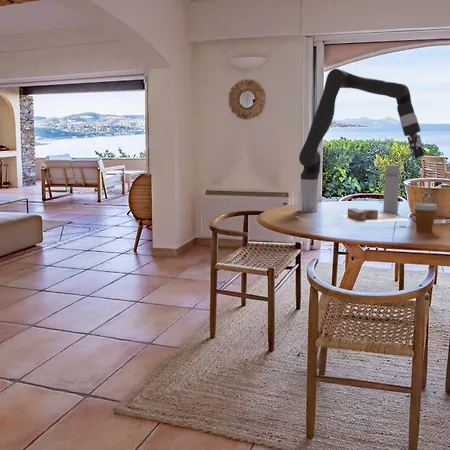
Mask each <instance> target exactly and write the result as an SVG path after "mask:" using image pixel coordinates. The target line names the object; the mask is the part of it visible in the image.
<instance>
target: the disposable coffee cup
mask: <svg viewBox="0 0 450 450" xmlns="http://www.w3.org/2000/svg"><path fill="white" fill-rule="evenodd" d="M413 207H414V214H415V227H416V228H415V229H416V230H415V231H416V232H419V233H425V234H426V233H432V231H433V227H434V221H435V216H436V212H437V209H438V207H437V204H436V203H433V202H415V204H414V206H413Z"/></svg>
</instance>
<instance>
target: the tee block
mask: <svg viewBox="0 0 450 450" xmlns="http://www.w3.org/2000/svg"><path fill="white" fill-rule="evenodd" d="M378 214H379V210H377V209H376V208H371V209H367V208H364V209H358V208H356V207H355V208H351V207H350V208H347V215H348V217H350V218H352V219H354V220H357V221H365V220H366V219H378Z"/></svg>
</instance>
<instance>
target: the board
mask: <svg viewBox="0 0 450 450" xmlns="http://www.w3.org/2000/svg"><path fill="white" fill-rule="evenodd" d="M338 216H339V217H341V218H343V219H346V220H348V221H350V222H352V223H354V224H355V223H381V222H383V223H384V222H410V221H411V220H410V219H407V218H404V217H401V216H398V215H395V214H394V213H378V219H366V220H365V221H357V220H354V219H352V218H350V217H348V214H345V215H344V214H341V215H338Z"/></svg>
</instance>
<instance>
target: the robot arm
mask: <svg viewBox="0 0 450 450" xmlns="http://www.w3.org/2000/svg"><path fill="white" fill-rule="evenodd" d="M340 89H355V90H360V91H363V92H366V93H369V94H373V95H378V96H379V95H380V96H386V97H390V98H393V99H395V100H396V103H397V108H396V109H397V113H398V116H399V120H400V121H399V122H400V126H401V128H402V133H403V135H404V137H407V141H408V143H409V147H410V150H411V151H412V153H413V156H414V158H415V159H417V158H421V157H424V156H425V153H424V149H423V147H424V146H423V142H422V139H421V135H419V134H418V133H420V132H421V128H420V125H419V121H418V118H417V115H416V113H415V110H414V106H413V104H412V97H411V92H410V89H409V87H408V86H407V85H406V84H404V83H399V82H393V81H392V82H391V81H387V80H384V79H380V78H375V77H365V76H360V75H356V74H353V73H351V72H348V71H345V70H344V69H342V68H341V69H340V68H333V69H331V70H330V71H329V72H328V74H327V77H326V80H325V85H324V87H323V92H322V95H321V97H320V100H319V103H318V105H317V109H316V110H315V114H314V117H313V120H312V122H311V124H310V125H311V126H310V128H309V132H308V135H307V137H306V140H305V142H304V144H303V147H302V149H301V151H300V153H299V155H298V156H299V157H298V161H299V163H300V164H301V166H303V170H302V171H301V173H300V188H299V193H298V211H300V212H302V213H314V212H316V213H317V212H318V195H319V194H318V193H319V192H318V191H319V175H320V171H321V154H320V152H319V149H318V148H319V146H320V144H321V141H322V140H323V138H324V137H325V135H326V134H327V133H328V131H329V128H330V127H331V124H332V122H333V120H334V116H335V111H336V110H335V108H336V100H337V97H338V96H337V95H338V94H339V91H340Z"/></svg>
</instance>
